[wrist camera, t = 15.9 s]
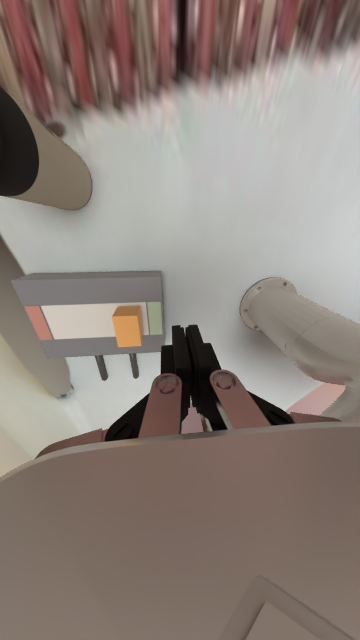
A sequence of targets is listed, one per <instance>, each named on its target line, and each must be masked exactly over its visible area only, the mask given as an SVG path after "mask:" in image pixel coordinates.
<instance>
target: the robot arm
mask: <svg viewBox="0 0 360 640" xmlns="http://www.w3.org/2000/svg"><path fill="white" fill-rule="evenodd" d="M257 287H258V288H257ZM240 314H241V318H242V320H243V321H244V323H245V324H246V325H247V326H248V327H250V328H252V329H254V330H258V331H263V332H264V333H265V334H266V336H267V337H268V338H269V339H270V340H271V341H272V342H273V343H274V344H275V345H276V346H277V347H278V348H279V349H280V350H281V351H282V352H283V353H284V354H285V355H286V356H287V357H288V358H289V359H290V360H291V361H292V362H293V363H294V364H295V365H296V366H297V367H298V368H299V369H300V370H301V371H302V372H303V373H304V374H306V375H307V376H309V377H311V378H313V379H315V380H318V381H322V382H326V383H332V384H338V385H345V386H346V388H345V390H344V392H343V393H342V394H341V395H340V396H339V397H338V398H337V400H336V401H335V402H334V403H332V404H331V405H330V406H329V407H328V408H327V409H326V410H325V411H323V412H322V413H321V414H320V415H319V416H317V415H309V414H302V413H295V412H290V414H287V413H286V412H285V411H283V410H282V409H280V408H278V407H276V406H275V405H273V404H271V403H269V402H267V401H265V400H263V399H262V398H260V397H258V396H256V395H254V394H252V393H251V392H249V391H247V390H246V389H245V387H244V386H243V385H242V383H241V382H240V380H239V379H238V378H237V376H236V375H235V374H233V373H232V372H230V371H227V370H222V369H221V367H220V365H219V362H218V360H217V357H216V355H215V353H214V350H213V348H212V345H211V343H203V340H202V337H201V334H200V332H199V329H198V326H197V325H189V326H188V327H186V331H185V333H184V328H183V327H180V325H177V326H172V345H162V346H161V375H159V376H157V377H156V378H155V379H154V381H153V383H152V387H151V390H150V393H149V394H148V395H146V396H145V397H144V398H143V399H142V400H140V401H139V402H138V403H137V404H136V405H135V406H133V407H132V408H131V409H130V410H129V411H127V412H126V413H125V414H124V415H123V416H121V417H120V418H119V419H118V420H117V421H116V422H114V423H113V424H112V425H111V426H110V428H109V429H106V430H102V428H101V429H98V430H95V431H91V432H88V433H85V434H82V435H78V436H75V437H72V438H69V439H65V440H62V441H59V442H56V443H53V444H51V445H49V446H47V447H46V448H45V449H43V450H42V451H41V452H40V453H39V454H38V455H37V456H36V458H35V459H33V460H31V461H29V462H27V463H25V464H23V465H21V466H19V467H17V468H15V469H13V470H11V471H10V472H9V473H7V474H5V475H3V476H2V477H0V640H360V324H358V323H356V322H353V321H351V320H349V319H347V318H345V317H343V316H341V315H339V314H337V313H335V312H333V311H331V310H328V309H326V308H324V307H322V306H320V305H318V304H316V303H314V302H312V301H310V300H308V299H306V298H304V297H301V296H299V295H297V292H296V289H295V287H294V286H293V285H292V284H291V283H290V282H288V281H287V280H284V279H282V278H268V279H264V280H262V281H260V282H258V283H257V284H255V285H254V286H252V287H251V288H250V289H249V290H248V292H247V293H246V294H245V296H244V298H243V300H242V302H241V306H240ZM190 396H191V400H192V406H193V407H196V410H197V413H200V414H201V415H203V416H204V417H205V420H206V424H207V426H208V429H209V432H198V433H187V434H181V430H182V421H183V420H184V419H185V418H186V416H187V415H188V408H190Z"/></svg>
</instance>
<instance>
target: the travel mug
mask: <svg viewBox="0 0 360 640" xmlns="http://www.w3.org/2000/svg"><path fill="white" fill-rule="evenodd" d="M91 191H92V182H91V177H90V173H89V171H88V168H87V166H86V165H85V163H84V161H83V160H82V159H81V157H80V156H79V155H78V154H77V153H76V152H75V151H74V150H72V149H71V148H70V147H69V146H68V145H67V144H66V143H64V142H63V141H62V140H61V139H60V138H59V137H58V136H57V135H55V134H54V133H53V132H52V131H51V130H50V129H48V128H47V127H46V126H45V125H44V124H43V123H42V122H41V121H39V120H38V119H37V118H36V117H35V116H34V115H33V114H32V113H30V112H29V111H28V110H27V109H26V108H25V107H24V106H22V105H21V104H20V103H19V102H18V101H17V100H16V99H15V98H13V97H12V96H11V95H10V94H9V93H8V92H7V91H5V90H4V89H3V88H2V87H1V86H0V196H5V197H9V198H14V199H19V200H24V201H28V202H33V203H38V204H43V205H48V206H52V207H57V208H62V209H67V210H77V209H80V208H82V207H83V206H84V205H85V204H86V203H87V202H88V200H89V198H90V196H91Z"/></svg>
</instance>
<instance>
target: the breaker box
mask: <svg viewBox="0 0 360 640" xmlns="http://www.w3.org/2000/svg"><path fill="white" fill-rule="evenodd" d="M11 282H12V284H13V286H14V288H15V290H16V293H17V295H18V297H19V299H20V301H21V303H22V305H23V307H24V310H25V312H26V314H27V316H28V318H29V320H30V323H31V325H32V327H33V329H34V331H35V333H36V336H37V338H38V340H39V342H40V344H41V346H42V349H43V351H44V353H45V355H46V357H47V358H58V357H78V356H95V358H96V361H97V365H98V368H99V372H100V375H101V378H102V380H103V381H105V380H107V373H106V370H105V366H104V362H103V359H102V355H114V354H129V355H130V361H131V367H132V372H133V377H134V378H135V379H136V378H138V377H139V374H138V368H137V361H136V355H135V353H150V352H161V346H162V345H165V334H164V315H163V296H162V277H161V271H129V272H81V273H32V274H29V275H26V276H23V277H20V278H17V279H14V280H11ZM121 306H140V307H141V315H142V324H143V332H144V335H143V340H142V346H133V347H118V344H117V339H116V334H115V329H114V325H113V320H112V315H113V314H114V312H115V310H116V309H117V307H121Z"/></svg>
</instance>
